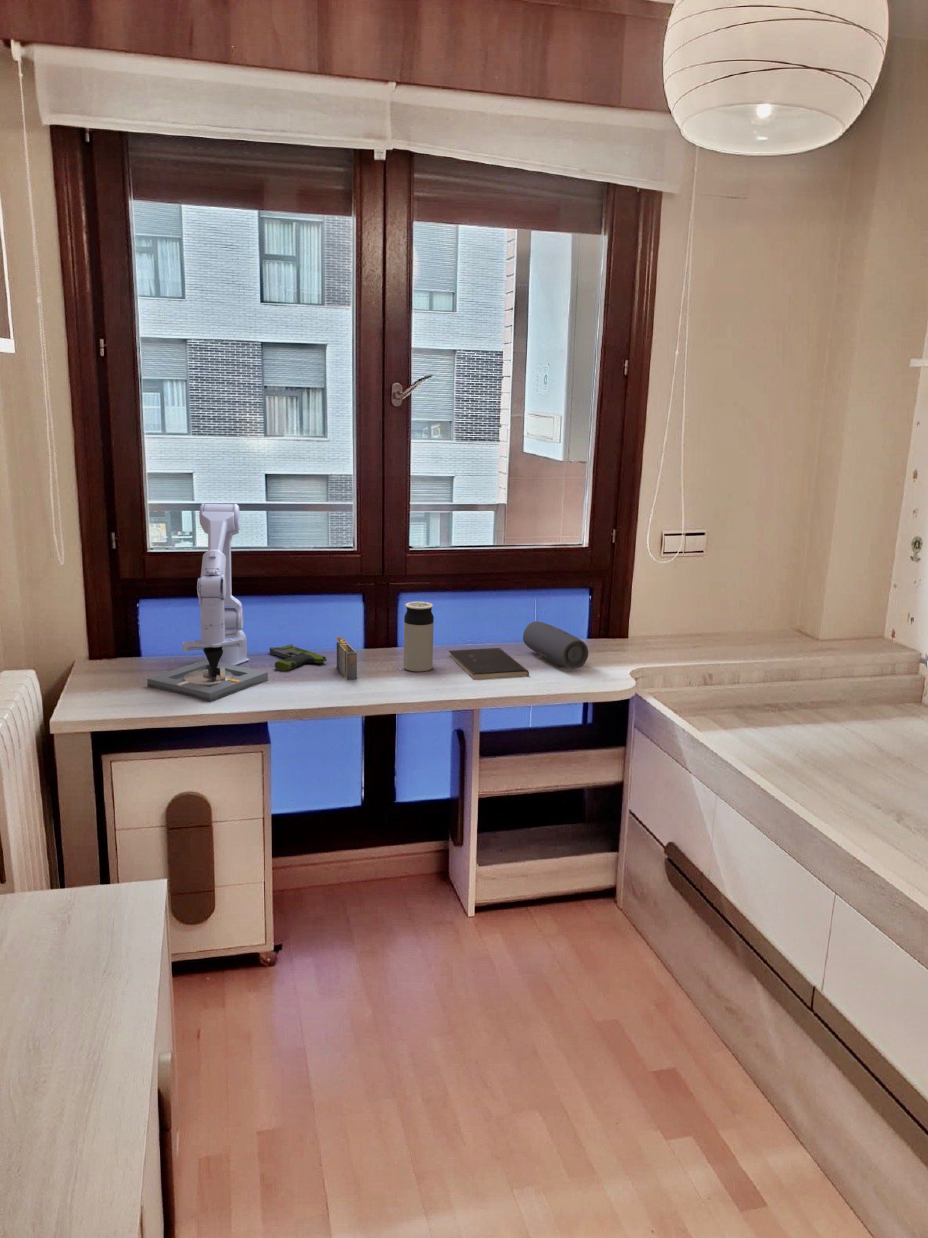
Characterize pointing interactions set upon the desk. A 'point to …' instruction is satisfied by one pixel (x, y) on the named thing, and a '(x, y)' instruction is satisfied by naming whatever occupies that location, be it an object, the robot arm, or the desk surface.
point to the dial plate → (177, 685)
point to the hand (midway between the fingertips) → (213, 676)
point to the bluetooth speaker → (555, 645)
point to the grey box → (346, 659)
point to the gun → (294, 657)
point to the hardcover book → (488, 663)
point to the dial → (208, 676)
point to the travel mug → (418, 636)
